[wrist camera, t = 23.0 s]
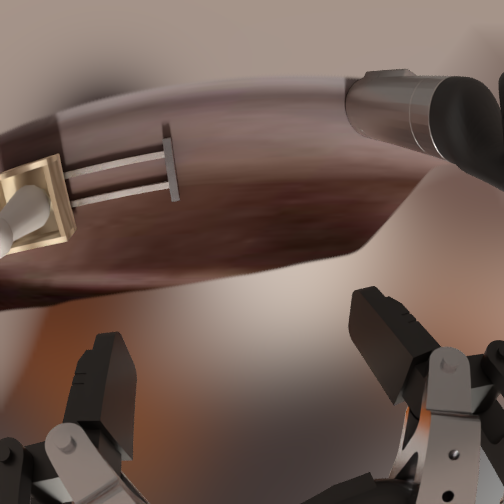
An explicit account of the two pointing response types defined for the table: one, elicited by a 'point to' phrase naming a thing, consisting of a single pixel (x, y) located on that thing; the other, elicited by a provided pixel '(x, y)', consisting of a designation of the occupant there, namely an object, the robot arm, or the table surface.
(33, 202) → the salt shaker
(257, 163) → the table surface
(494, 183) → the robot arm
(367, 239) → the table surface
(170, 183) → the rail
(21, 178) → the wooden tray
